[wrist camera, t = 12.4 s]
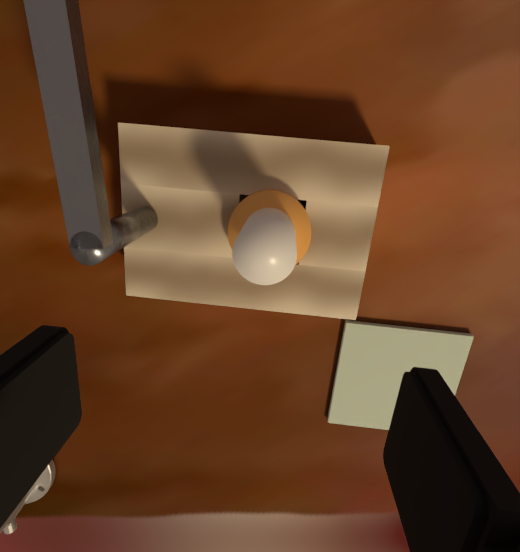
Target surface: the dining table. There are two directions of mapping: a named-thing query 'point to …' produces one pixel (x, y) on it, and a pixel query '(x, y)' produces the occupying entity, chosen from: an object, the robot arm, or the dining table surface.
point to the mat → (388, 368)
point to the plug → (268, 236)
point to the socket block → (225, 198)
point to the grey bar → (77, 134)
